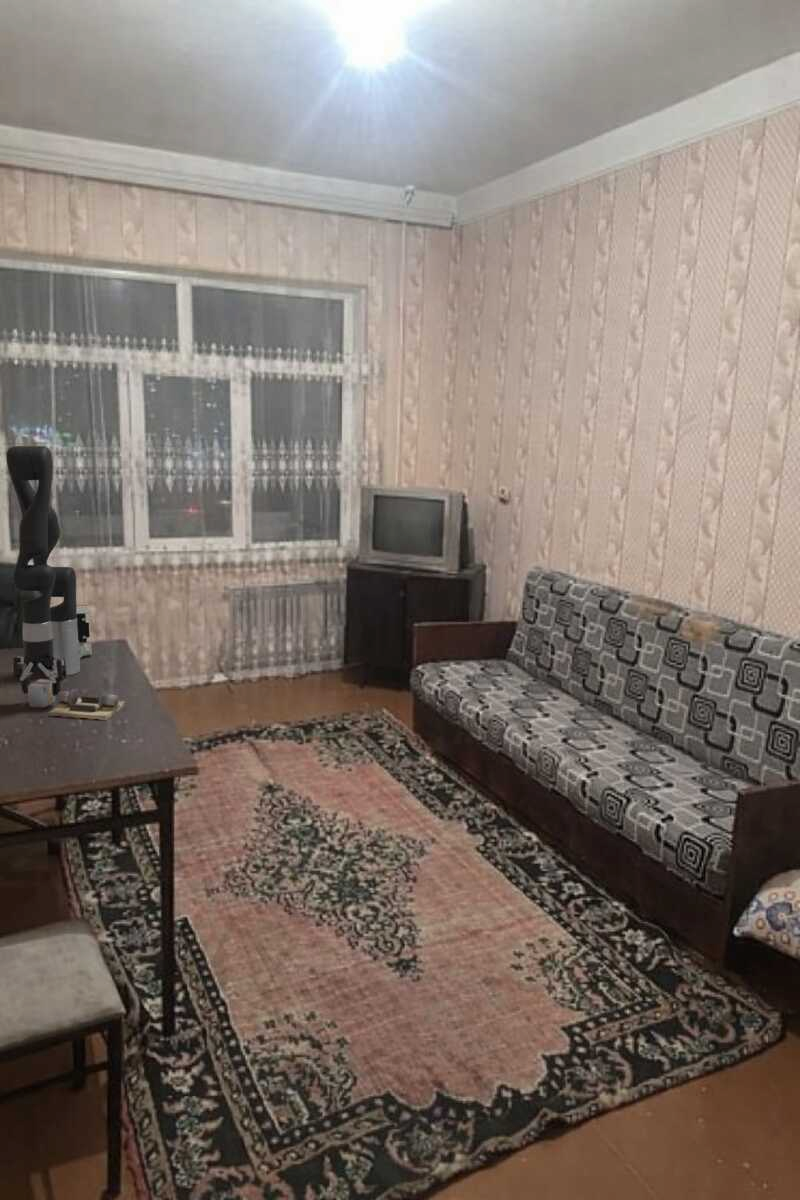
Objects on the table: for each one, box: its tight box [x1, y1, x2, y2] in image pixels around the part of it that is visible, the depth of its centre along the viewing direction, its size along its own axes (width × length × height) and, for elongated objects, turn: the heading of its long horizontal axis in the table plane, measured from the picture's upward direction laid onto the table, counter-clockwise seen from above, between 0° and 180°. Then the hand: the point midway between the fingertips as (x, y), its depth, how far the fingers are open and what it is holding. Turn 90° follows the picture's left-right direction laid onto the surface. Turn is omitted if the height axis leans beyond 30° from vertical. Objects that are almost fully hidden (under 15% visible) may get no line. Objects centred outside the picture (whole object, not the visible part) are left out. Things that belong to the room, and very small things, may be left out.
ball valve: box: [77, 604, 93, 659], centre depth 276 cm, size 18×8×18 cm, turn 18°
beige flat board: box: [48, 688, 127, 721], centre depth 227 cm, size 12×16×6 cm
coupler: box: [27, 678, 57, 708], centre depth 232 cm, size 6×5×6 cm
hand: (41, 694), depth 231 cm, fingers open, 8 cm apart
